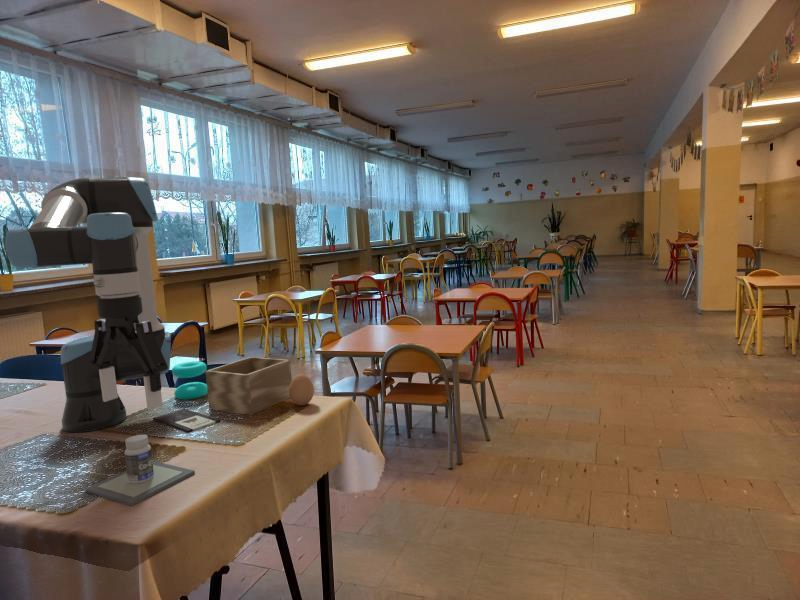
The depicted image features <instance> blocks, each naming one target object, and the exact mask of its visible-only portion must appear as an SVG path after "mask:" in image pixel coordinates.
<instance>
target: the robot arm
mask: <svg viewBox="0 0 800 600" xmlns="http://www.w3.org/2000/svg"><path fill="white" fill-rule="evenodd" d="M153 198H154V197H153V194H152V190H151V186H150V183H149V182H148V180H146V179H145V178H142V177H130V176H128V177H124V176H123V177H83V178H82V177H81V178H75V179H72V180H68V181H65V182H64V183H61V184H59V185H56V186H55V187H54V188H52V189H50V190H49V191H48V192H47V193H46V194H45V196H44V197H43V199H42V200H41V210H40V212H39V214H38V215H37V216H36V217H35V219H34V221H33V223H32V224H31V225H30V227H29V228H26V227H21V228H17V229H16V228H13V229H9V230H8V231H7V232H6V234H5V238H4V243H5V244H4V245H5V246H4V247H5V251H6V252H5V253H6V255H7V258H8V261H9V263H10V265H11V266H13V267H14V268H18V269H25V268H26V269H27V268H28V269H29V268H31V269H36V268H50V267H60V266H61V267H62V266H75V265H91V266H92V274H93V280H94V281H93V285H94V289H95V295H96V296H98V298H97V299H96V307H97V314H98V317H99V318H100V319H97V320H96V319H95V320H94V334H93V335H89V336H88V335H87V336H84V337H82V338H81V337H80V338H77V339H73V340H71V341H69V342H66V343H65V344H63V345H62V346H61V348H60V365H61V370H62V376H63V382H64V384H63V385H64V390H65V399H66V400H65V406H64V408H63V414H62V418H61V428H62V430H63V431H64V432H68V433H83V432H92V431H98V430H102V429H105V428H108V427H111V426H114V425H117V424H119V423H121V422H123V421H124V420H126V418H127V409H126V407H125V405H124V403H123V401H122V399H121V397H120V395H119V394H118V386H117V382H120V381H125V380H126V381H128V380H135V379H141V378H142V379H143V383H144V392H145V399H146V400H145V402H146V408H147V411H152V410H154V409H157V408H160V407H163V398H162V380H161V375H164V374H167V373H168V372H169V370H170V368H171V347H172V346H171V345H172V343H171V340H172V339H171V336H172V334H171V332H169V331H166V330H165V325H164V324H162V323H161V322H160V321H159V320H158V312H157V302H156V296H155V294H156V293H155V286H154V277H153V270H152V268H153V267H152V260H151V251H150V243H149V234H150V232H152V230H153V229H154V223H153V222H157V221H158V220H159V218H158V214H157V209H156V206H155V203H154V199H153ZM81 224H86V225H85V226H84V225H82V226H80V225H81Z"/></svg>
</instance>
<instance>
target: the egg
mask: <svg viewBox="0 0 800 600" xmlns="http://www.w3.org/2000/svg"><path fill="white" fill-rule="evenodd" d="M314 394H315V389H314V384H313V382H312V380H311V379H310V378H309V376H308V375H306V374H303V373H298V374H296V375H294V377H292V381H291V383H290V386H289V395H290V398H289V399H290V400H291V402H292V403H293V404H295V405H297V406H302V407H303V406H306V405H308V404H309V403H310V402H311V401H312V399H313V397H314Z"/></svg>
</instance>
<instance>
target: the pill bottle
mask: <svg viewBox="0 0 800 600" xmlns="http://www.w3.org/2000/svg"><path fill="white" fill-rule="evenodd" d="M124 442H125V450H124V452H123V453H124V459H125V460H124V462H125V469H126V470H125V471H127V479H128V482H129V483H132V484H138V483H143V482H146V481H148V480H150V479H151V478H153V477H154V470H153V461H154V460H153V454H152V453H153V452H152V447H151V445H150V444H149V437H148V435H147V434H137V435H133V436H130V437H128V438H126V439H125V440H124Z"/></svg>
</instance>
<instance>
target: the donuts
mask: <svg viewBox="0 0 800 600" xmlns="http://www.w3.org/2000/svg"><path fill="white" fill-rule="evenodd" d="M207 369H208V368H207V364H206V363H205V362H203V361H199V360H198V361H197V360H196V361H195V360H194V361H185V362H181V363H177V364H176V365H174V366H173V367H172V369H171V373H172V375H173V376H174V377H175V378H180V379H188V378H189V379H190V378H195V377H199V376H200V375H202V374H204V373H205V371H207ZM206 395H208V392H207V383H204V382H199V381H193V382H187V383H183V384H181V385H179V386H178V387H176V389H175V390H174V398H176V399H178V400H183V401H187V400H194V399H199V398H202V397H204V396H206Z"/></svg>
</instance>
